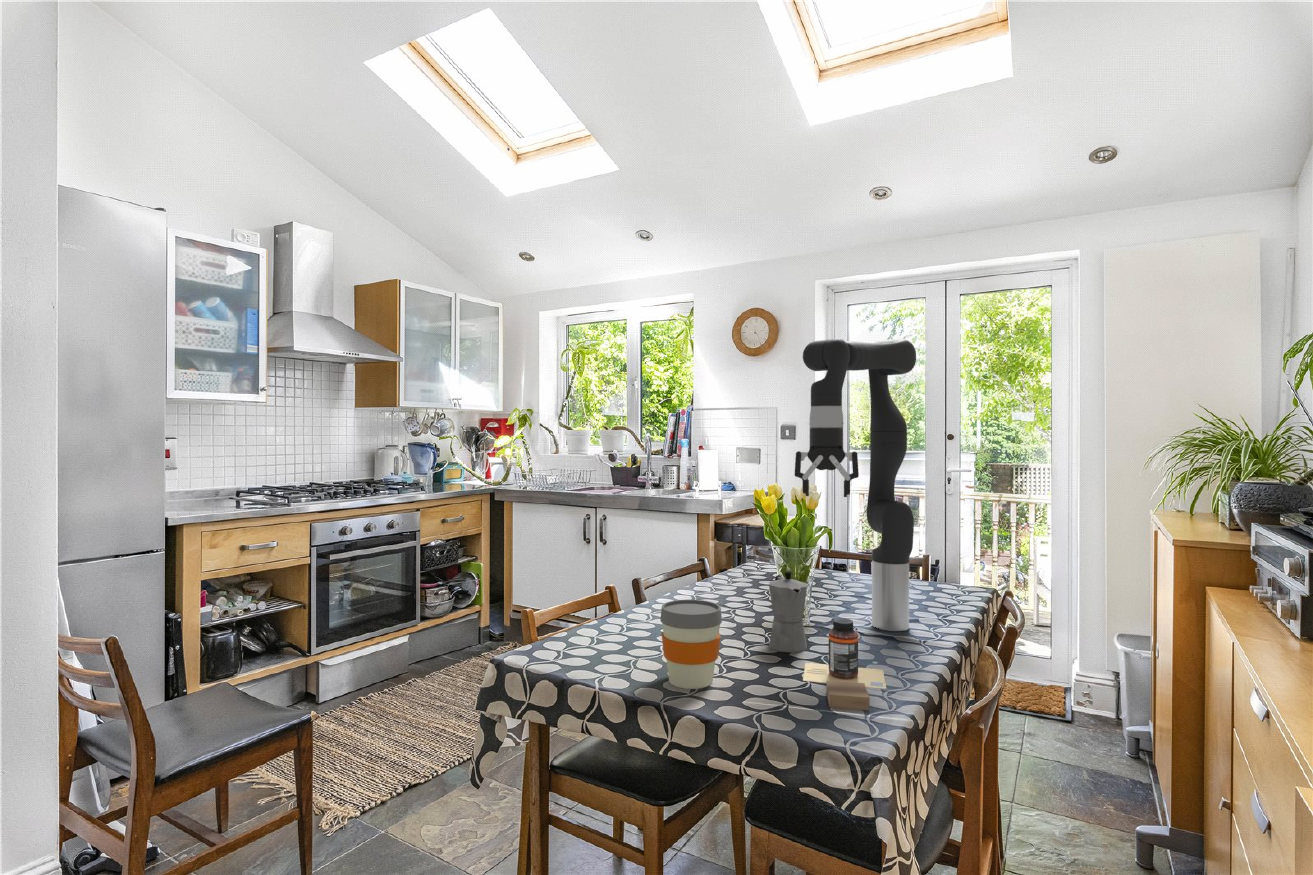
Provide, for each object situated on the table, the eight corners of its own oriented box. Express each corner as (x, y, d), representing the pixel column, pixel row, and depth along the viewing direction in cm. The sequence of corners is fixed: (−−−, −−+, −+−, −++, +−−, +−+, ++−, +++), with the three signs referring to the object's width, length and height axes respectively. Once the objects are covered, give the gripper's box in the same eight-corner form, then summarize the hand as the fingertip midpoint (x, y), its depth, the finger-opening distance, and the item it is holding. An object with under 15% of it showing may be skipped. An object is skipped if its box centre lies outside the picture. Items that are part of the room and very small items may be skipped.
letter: (805, 664, 144) (805, 662, 144) (882, 671, 139) (882, 669, 139) (802, 681, 133) (802, 680, 133) (886, 690, 129) (886, 688, 129)
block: (826, 696, 127) (826, 680, 127) (864, 698, 126) (864, 683, 125) (829, 711, 120) (829, 694, 120) (869, 714, 119) (869, 697, 119)
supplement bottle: (835, 667, 141) (836, 614, 141) (862, 674, 137) (863, 619, 137) (823, 675, 136) (823, 620, 136) (851, 682, 132) (851, 625, 132)
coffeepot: (817, 656, 149) (817, 576, 149) (777, 657, 148) (777, 577, 148) (794, 635, 164) (794, 563, 164) (757, 637, 163) (758, 564, 163)
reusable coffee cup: (719, 670, 140) (720, 599, 140) (723, 693, 127) (724, 615, 127) (661, 669, 140) (661, 598, 140) (658, 691, 128) (659, 614, 128)
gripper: (793, 426, 150) (793, 497, 150) (859, 425, 146) (859, 498, 146) (795, 426, 157) (795, 494, 157) (858, 426, 153) (858, 495, 153)
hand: (826, 496), depth 152 cm, fingers open, 8 cm apart
